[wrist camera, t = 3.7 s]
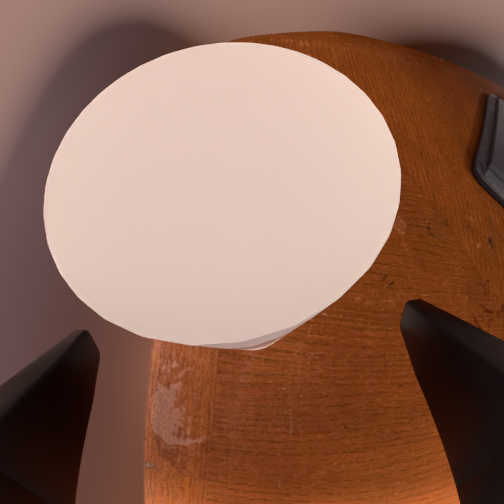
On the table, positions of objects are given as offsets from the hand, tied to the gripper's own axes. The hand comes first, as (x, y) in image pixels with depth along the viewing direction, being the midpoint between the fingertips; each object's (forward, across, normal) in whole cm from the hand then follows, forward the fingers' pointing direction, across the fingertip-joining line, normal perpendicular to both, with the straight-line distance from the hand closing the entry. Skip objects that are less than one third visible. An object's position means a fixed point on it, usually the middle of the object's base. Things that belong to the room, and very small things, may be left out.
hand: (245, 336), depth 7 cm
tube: (+8, 0, +6) cm, 10 cm away
